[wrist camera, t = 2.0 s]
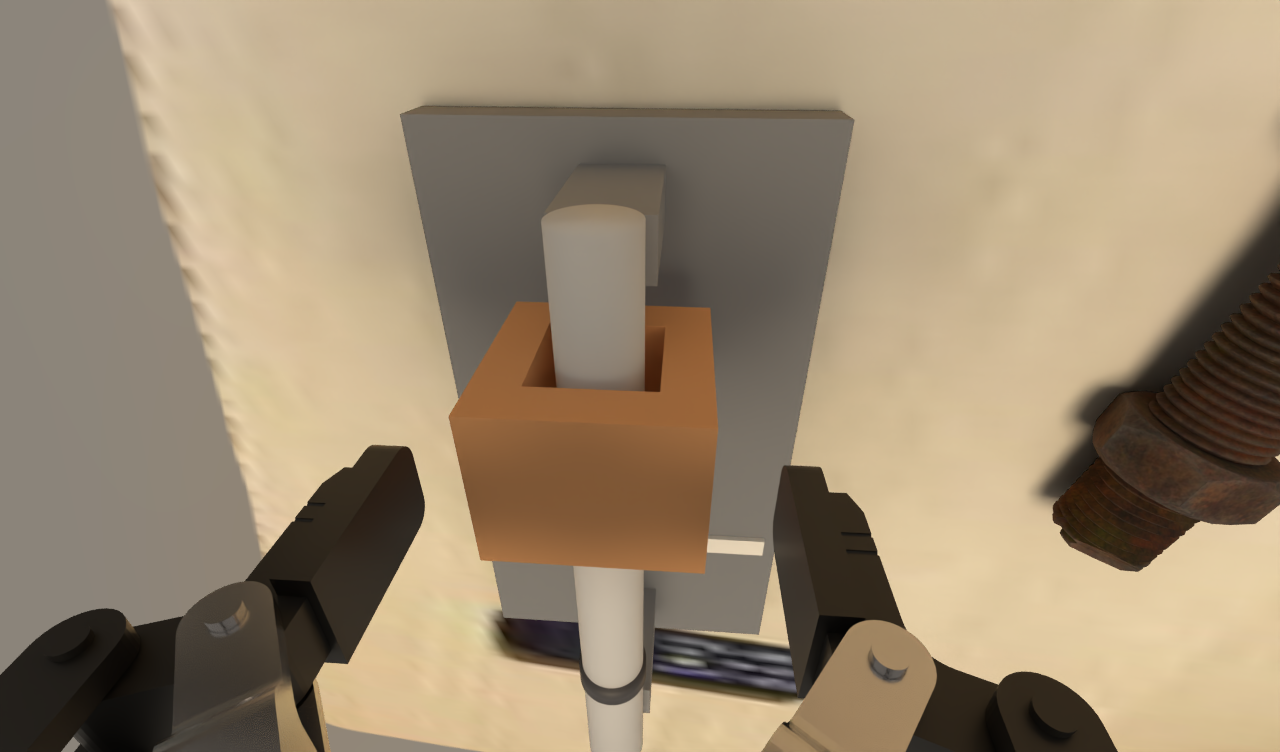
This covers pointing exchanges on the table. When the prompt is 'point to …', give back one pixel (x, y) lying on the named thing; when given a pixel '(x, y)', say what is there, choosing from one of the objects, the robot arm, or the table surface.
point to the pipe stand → (641, 321)
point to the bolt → (1186, 447)
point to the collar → (591, 450)
